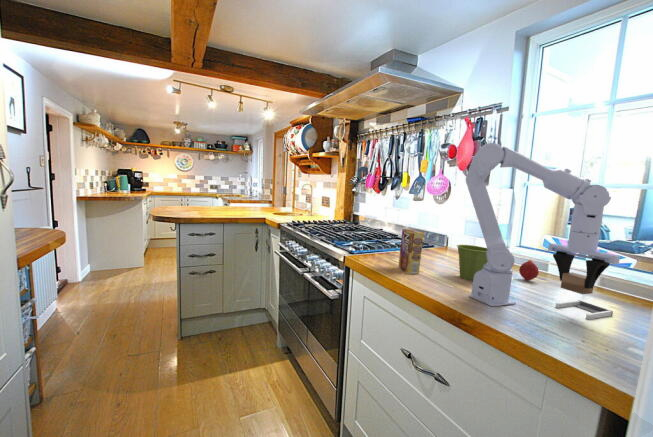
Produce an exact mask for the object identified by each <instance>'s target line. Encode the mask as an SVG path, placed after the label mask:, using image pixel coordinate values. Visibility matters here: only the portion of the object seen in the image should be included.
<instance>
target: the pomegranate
mask: <svg viewBox="0 0 653 437" xmlns="http://www.w3.org/2000/svg"><path fill="white" fill-rule="evenodd" d="M518 269H519V274H520V276H521V277H522V279H524V280H525V281H526V282H529V281H532V280H534V279H535V278H537V277H538V275H539V268H538V266H537V264H535V263H534V262H533V260H532V259H531V258H529V259H528V260H527V261H526V262H524V263H522V264H521V265H520V266H519V268H518Z"/></svg>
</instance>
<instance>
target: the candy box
mask: <svg viewBox="0 0 653 437" xmlns="http://www.w3.org/2000/svg"><path fill="white" fill-rule="evenodd" d="M424 234H425V233H424V232H422V231H418V230H415V229H412V228H402V231H401V239H400V249H399V257H398V265H397V267H398V269H399V270H401V271H404V272H405V273H407V274H409V275H419V274H420V267H421V261H422V260H421V259H422V251H423V241H424Z"/></svg>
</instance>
